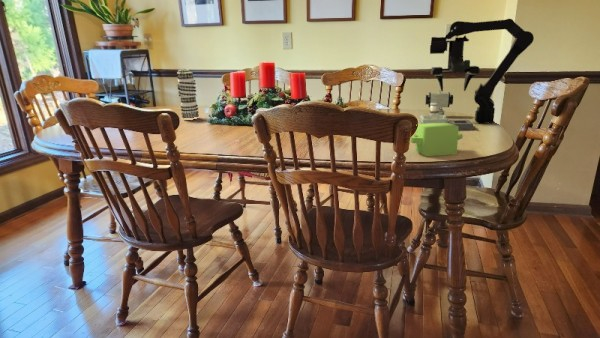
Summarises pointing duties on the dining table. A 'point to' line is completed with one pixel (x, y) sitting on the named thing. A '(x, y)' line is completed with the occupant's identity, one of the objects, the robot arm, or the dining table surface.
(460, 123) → the grey square frame
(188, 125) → the dining table surface
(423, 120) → the parts tray
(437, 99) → the pneumatic valve
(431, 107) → the white light bulb
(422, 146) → the gearbox
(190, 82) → the decorative candle
